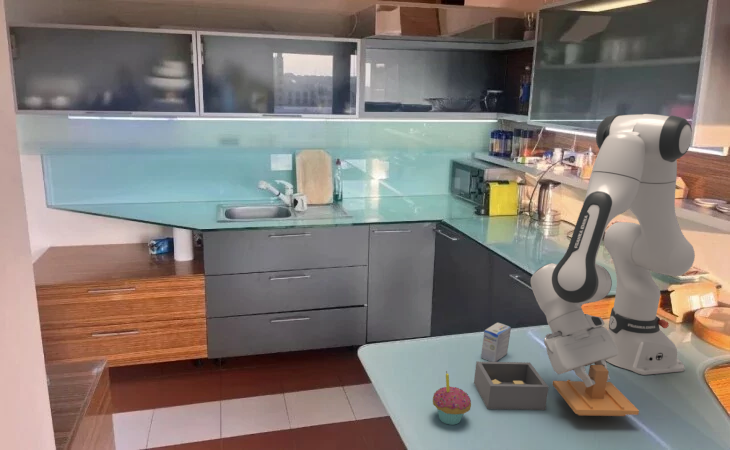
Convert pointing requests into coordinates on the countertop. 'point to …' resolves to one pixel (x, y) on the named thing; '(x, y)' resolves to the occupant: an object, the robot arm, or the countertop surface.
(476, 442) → the countertop surface
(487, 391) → the tub
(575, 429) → the countertop surface
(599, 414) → the lid
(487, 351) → the medicine box
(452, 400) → the cupcake
